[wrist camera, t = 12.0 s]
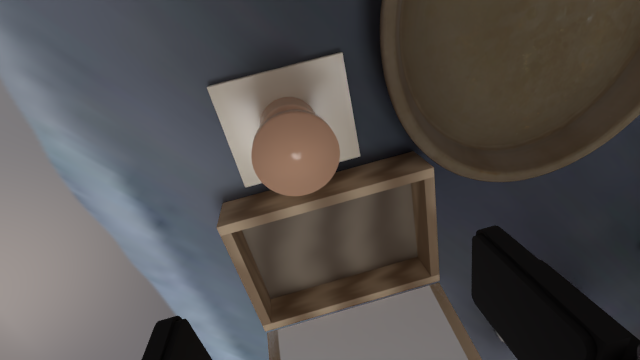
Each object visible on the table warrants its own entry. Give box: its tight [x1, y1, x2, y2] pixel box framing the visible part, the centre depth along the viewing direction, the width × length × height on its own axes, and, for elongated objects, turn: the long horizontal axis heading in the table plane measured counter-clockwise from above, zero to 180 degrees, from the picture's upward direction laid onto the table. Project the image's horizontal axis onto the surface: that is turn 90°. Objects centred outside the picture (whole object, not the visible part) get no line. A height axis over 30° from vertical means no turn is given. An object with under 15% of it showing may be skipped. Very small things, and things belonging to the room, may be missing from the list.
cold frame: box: [217, 151, 440, 332], centre depth 34 cm, size 21×15×4 cm
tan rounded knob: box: [251, 97, 340, 196], centre depth 25 cm, size 6×6×8 cm
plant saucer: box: [380, 0, 640, 182], centre depth 27 cm, size 31×31×5 cm
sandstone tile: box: [207, 52, 360, 188], centre depth 29 cm, size 12×10×1 cm
